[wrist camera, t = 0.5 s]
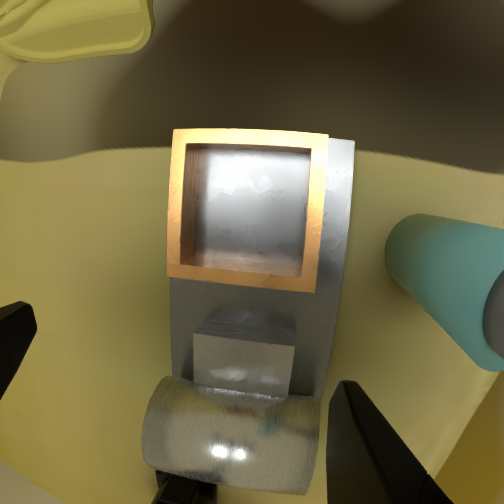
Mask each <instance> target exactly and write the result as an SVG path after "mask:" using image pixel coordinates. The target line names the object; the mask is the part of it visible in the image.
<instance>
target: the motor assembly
mask: <svg viewBox="0 0 504 504" xmlns="http://www.w3.org/2000/svg"><path fill="white" fill-rule="evenodd" d="M354 143H355V142H354V141H351V140H342V139H333V138H328V135H326V134H315V133H304V132H291V131H274V130H250V129H175V130H174V132H173V143H172V155H171V169H170V184H169V203H168V227H167V277H170V313H171V352H172V375H173V376H166V377H164V378H163V379H162V380H161V381H160V382H159V384H158V385H157V387H156V388H155V390H154V392H153V394H152V396H151V399H150V401H149V404H148V407H147V410H146V414H145V418H144V423H143V429H142V453H143V457H144V460H145V462H146V464H147V465H148V466H149V467H151V468H154V469H157V470H160V471H164V472H167V473H171V474H175V475H178V476H182V477H186V478H190V479H194V480H199V481H203V482H208V483H213V484H218V485H223V486H228V487H234V488H240V489H247V490H254V491H261V492H269V493H279V494H290V495H305V494H306V493H307V491H308V488H309V486H310V482H311V479H312V475H313V471H314V466H315V461H316V455H317V449H318V441H319V431H320V403H321V398H322V394H323V389H324V384H325V380H326V375H327V370H328V364H329V359H330V354H331V349H332V343H333V337H334V331H335V326H336V319H337V313H338V307H339V300H340V293H341V286H342V279H343V271H344V263H345V255H346V246H347V237H348V228H349V217H350V206H351V194H352V180H353V164H354Z"/></svg>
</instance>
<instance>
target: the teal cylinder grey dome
mask: <svg viewBox="0 0 504 504" xmlns="http://www.w3.org/2000/svg"><path fill="white" fill-rule="evenodd" d="M385 261H386V266H387V269H388V271H389V273H390V275H391V276H392V278H393V279H394V280H395V281H396V282H397V283H398V284H399V285H400V286H401V287H402V288H403V289H404V290H405V291H406V292H407V293H408V294H409V295H410V296H411V297H412V298H413V299H414V300H415V301H416V302H417V303H418V304H419V305H420V306H421V307H422V308H423V309H424V310H425V311H426V312H427V313H428V314H429V315H430V316H431V317H432V318H433V319H434V320H435V321H436V322H437V323H438V324H439V325H440V326H441V327H442V328H443V329H444V330H445V331H446V332H447V333H448V334H449V335H450V336H451V337H452V338H453V340H454V341H455V342H456V343H457V344H458V345H459V346H460V347H461V348H462V349H463V350H464V351H465V352H466V353H467V355H468V356H469V357H470V358H471V359H472V360H473V361H474V362H475V363H476V364H477V365H478V366H479V367H481V368H483V369H485V370H488V371H504V229H500V228H495V227H490V226H486V225H481V224H476V223H470V222H465V221H460V220H455V219H449V218H444V217H438V216H432V215H426V214H415V215H411V216H409V217H406V218H405V219H403V220H402V221H400V222H399V223H398V224H397V225H396V226H395V227H394V228H393V230H392V231H391V233H390V235H389V237H388V240H387V243H386V247H385Z"/></svg>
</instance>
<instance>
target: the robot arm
mask: <svg viewBox="0 0 504 504" xmlns="http://www.w3.org/2000/svg"><path fill="white" fill-rule="evenodd" d="M36 331H37V324H36V320H35V316H34V312H33V308H32V306H31V305H30V304H28V303H26V302H23V301H18V302H15V303H12V304H10V305H7V306H4V307H1V308H0V400H1V398H2V396H3V395H4V393H5V391H6V389H7V388H8V386H9V384H10V382H11V381H12V379H13V377H14V376H15V374H16V372H17V370H18V368H19V366H20V364H21V362H22V360H23V358H24V356H25V354H26V352H27V350H28V348H29V346H30V344H31V342H32V340H33V338H34V336H35V334H36ZM155 472H156V477H157V482H158V486H159V490H158V492H157V493H156V495H155V497H154V499H153V501H152V503H151V504H217V484H213V483H208V482H203V481H199V480H194V479H190V478H186V477H182V476H178V475H175V474H171V473H167V472H164V471H160V470H157V469H156V471H155ZM326 472H327V500H328V504H454V503H453V502H452V501H451V500H450V499H449V498H448V497H447V496H446V494H445V493H444V492H443V491H442V490H441V488H440V487H439V486H438V485H437V484H436V482H435V481H434V480H433V478H432V477H431V476H430V475H429V474H427V471H426V470H425V468H424V467H423V466H422V465H421V463H420V462H419V461H418V459H417V458H416V457H415V456H414V454H413V453H412V452H411V451H410V449H409V448H408V447H407V445H406V444H405V443H404V442H403V440H402V439H401V438H400V436H399V435H398V434H397V433H396V431H395V430H394V429H393V428H392V426H391V425H390V424H389V422H388V421H387V420H386V419H385V417H384V416H383V415H382V413H381V412H380V411H379V410H378V408H377V407H376V406H375V405H374V403H373V402H372V401H371V399H370V398H369V397H368V396H367V394H366V393H365V392H364V391H363V389H362V388H361V387H360V385H359V384H358V383H357V382H356V381H349V380H342V381H340V382H339V384H338V386H337V388H336V390H335V392H334V394H333V396H332V398H331V400H330V403H329V414H328V431H327V445H326Z"/></svg>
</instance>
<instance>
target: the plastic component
mask: <svg viewBox="0 0 504 504" xmlns="http://www.w3.org/2000/svg"><path fill="white" fill-rule="evenodd" d="M152 4H153V0H0V52H2V53H4V54H6V55H9V56H11V57H14V58H17V59H21V60H25V61H29V62H37V63H62V62H67V61H73V60H79V59H86V58H93V57H100V56H109V55H119V54H131V53H133V52H136V51H138V50H140V49H141V48H142V47H144V45H145V44H146V43H147V42H148V40H149V38H150V37H151V35H152V33H153V30H154V22H155V21H154V16H153V8H152Z"/></svg>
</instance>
